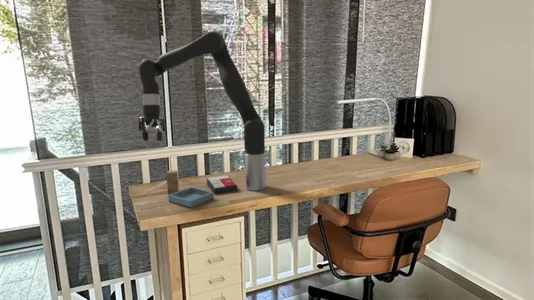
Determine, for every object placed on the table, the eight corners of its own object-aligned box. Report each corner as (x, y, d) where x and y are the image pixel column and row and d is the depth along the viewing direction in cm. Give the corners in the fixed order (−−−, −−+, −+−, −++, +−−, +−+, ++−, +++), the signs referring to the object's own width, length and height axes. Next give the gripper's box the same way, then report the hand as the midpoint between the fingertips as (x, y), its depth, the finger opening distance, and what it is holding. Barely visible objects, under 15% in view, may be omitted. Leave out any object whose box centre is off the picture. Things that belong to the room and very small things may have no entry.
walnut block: (168, 191, 185) (167, 170, 183) (178, 190, 186) (177, 170, 183) (168, 194, 181) (166, 173, 178) (178, 194, 181) (176, 173, 179)
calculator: (214, 187, 180) (206, 176, 193) (214, 196, 181) (206, 185, 194) (237, 184, 184) (228, 174, 197) (237, 193, 185) (228, 182, 198)
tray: (192, 192, 183) (191, 186, 182) (213, 198, 175) (213, 192, 174) (168, 201, 172) (168, 194, 171) (190, 208, 164) (190, 201, 164)
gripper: (146, 102, 171) (147, 140, 171) (168, 105, 184) (169, 140, 184) (133, 104, 175) (134, 141, 175) (156, 106, 187) (157, 141, 187)
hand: (152, 140), depth 179 cm, fingers open, 8 cm apart
